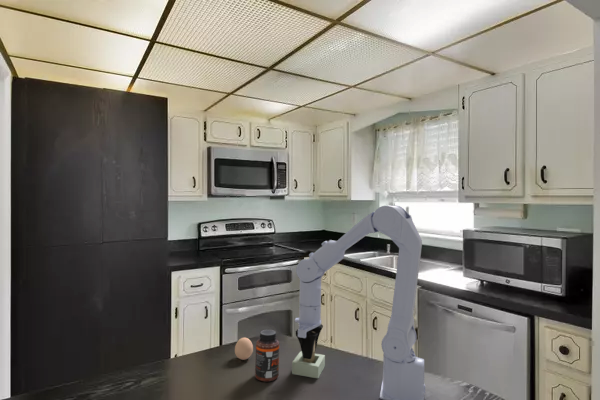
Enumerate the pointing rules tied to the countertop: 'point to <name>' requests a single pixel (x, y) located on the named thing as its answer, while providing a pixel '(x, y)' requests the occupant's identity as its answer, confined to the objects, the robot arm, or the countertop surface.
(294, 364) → the hole block
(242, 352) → the egg
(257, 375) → the supplement bottle
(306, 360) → the beech peg
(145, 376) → the countertop surface
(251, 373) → the countertop surface
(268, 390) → the countertop surface
